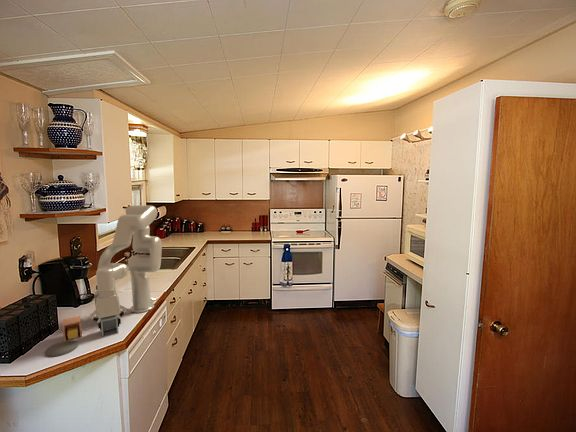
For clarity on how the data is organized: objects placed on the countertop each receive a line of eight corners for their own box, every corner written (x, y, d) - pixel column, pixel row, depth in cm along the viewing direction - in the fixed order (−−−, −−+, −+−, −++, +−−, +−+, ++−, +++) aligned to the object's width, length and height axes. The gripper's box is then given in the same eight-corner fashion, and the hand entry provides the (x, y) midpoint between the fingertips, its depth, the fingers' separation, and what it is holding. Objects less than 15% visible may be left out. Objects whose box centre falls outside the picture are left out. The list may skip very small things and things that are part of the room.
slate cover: (102, 330, 158) (100, 315, 157) (117, 327, 162) (116, 312, 161) (102, 336, 152) (100, 320, 151) (118, 332, 156) (117, 317, 155)
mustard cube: (68, 336, 154) (67, 328, 153) (77, 333, 156) (77, 325, 155) (68, 339, 150) (67, 331, 150) (78, 336, 153) (77, 329, 152)
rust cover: (64, 335, 154) (62, 319, 153) (81, 331, 158) (79, 316, 157) (64, 341, 148) (62, 325, 147) (82, 336, 152) (80, 321, 151)
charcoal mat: (68, 340, 150) (68, 338, 149) (83, 346, 144) (83, 344, 144) (39, 352, 139) (39, 350, 139) (54, 359, 133) (53, 357, 133)
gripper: (85, 299, 147) (88, 335, 149) (127, 291, 156) (130, 326, 158) (86, 294, 153) (89, 328, 156) (126, 287, 162) (128, 320, 164)
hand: (109, 327), depth 157 cm, fingers closed on slate cover, 7 cm apart
